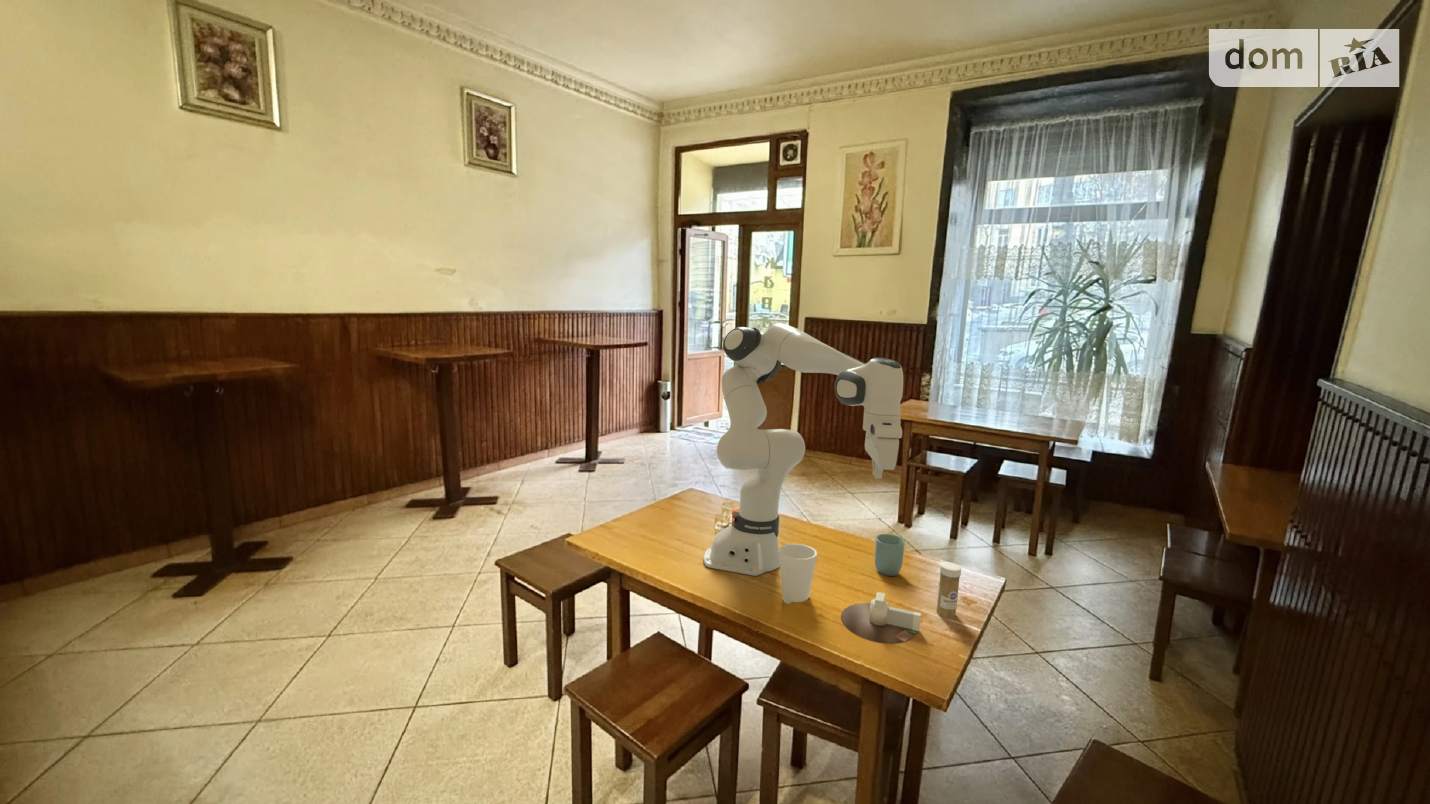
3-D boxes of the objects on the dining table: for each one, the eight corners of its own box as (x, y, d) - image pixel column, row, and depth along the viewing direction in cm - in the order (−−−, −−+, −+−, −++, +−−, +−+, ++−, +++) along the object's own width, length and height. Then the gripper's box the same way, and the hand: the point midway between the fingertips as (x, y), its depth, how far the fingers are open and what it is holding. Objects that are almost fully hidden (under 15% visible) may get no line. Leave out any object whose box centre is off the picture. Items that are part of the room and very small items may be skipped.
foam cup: (813, 611, 137) (816, 561, 134) (775, 607, 138) (778, 557, 136) (813, 592, 146) (816, 545, 144) (778, 588, 147) (780, 541, 145)
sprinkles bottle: (945, 624, 132) (951, 571, 130) (931, 615, 137) (936, 563, 134) (959, 620, 134) (965, 568, 132) (945, 611, 138) (950, 560, 136)
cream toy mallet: (868, 623, 129) (870, 598, 128) (870, 614, 133) (872, 590, 132) (918, 634, 125) (921, 609, 124) (919, 625, 129) (922, 601, 128)
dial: (843, 644, 123) (844, 638, 123) (837, 604, 140) (837, 599, 140) (923, 652, 121) (924, 646, 121) (907, 611, 138) (908, 606, 138)
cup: (903, 580, 154) (906, 546, 152) (874, 577, 155) (877, 543, 154) (900, 568, 161) (903, 535, 160) (872, 565, 163) (874, 532, 161)
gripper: (861, 415, 150) (857, 465, 153) (876, 431, 130) (872, 488, 133) (885, 416, 150) (880, 466, 152) (904, 433, 130) (899, 490, 132)
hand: (877, 477), depth 142 cm, fingers closed
